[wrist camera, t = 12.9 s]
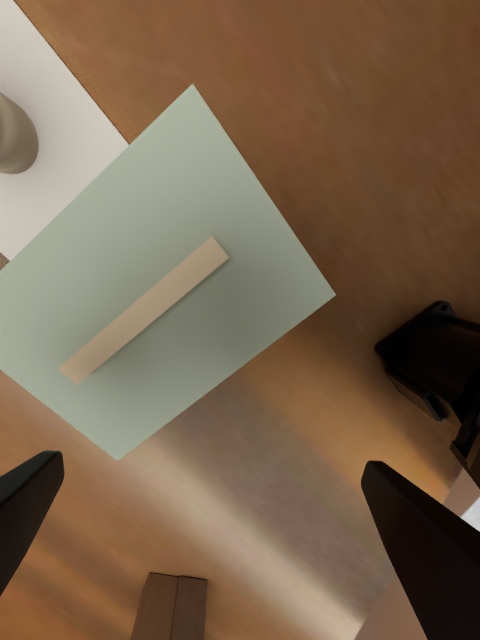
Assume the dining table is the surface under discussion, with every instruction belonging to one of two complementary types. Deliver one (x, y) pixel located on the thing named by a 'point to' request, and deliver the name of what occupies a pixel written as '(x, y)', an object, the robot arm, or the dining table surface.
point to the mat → (47, 132)
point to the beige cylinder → (16, 138)
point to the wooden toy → (171, 609)
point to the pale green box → (154, 283)
